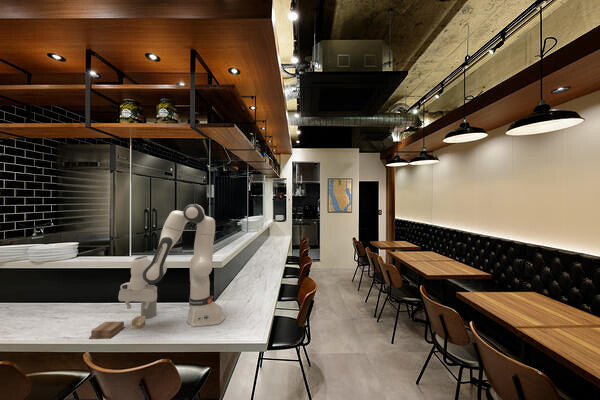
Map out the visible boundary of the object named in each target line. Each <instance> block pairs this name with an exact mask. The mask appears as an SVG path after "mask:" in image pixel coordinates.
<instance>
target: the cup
mask: <svg viewBox="0 0 600 400" xmlns="http://www.w3.org/2000/svg"><path fill="white" fill-rule="evenodd" d="M157 300H158V298H157V299H156V300H155V301H153V302H150V303H149V305H148V309H144V306H145V305H146V304H147V303H146V302H140V316H146V318H145V320H149V319H152V318H154V317H156V316H157V304H158V303H157Z"/></svg>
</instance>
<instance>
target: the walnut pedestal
mask: <svg viewBox="0 0 600 400" xmlns="http://www.w3.org/2000/svg"><path fill="white" fill-rule="evenodd" d="M124 323H125V321H123V320H122V321H105V322H103V323H101V324H100V325H98V326H96V327H95V328H93V329H92V330H91V332H90V333H91V336H89V337H88V339H89V340H98V339H99V340H100V339H101V340H103V339H105V340H109V339H113V338H114V337H115V336H117V335H118V334H119V333H121V332H122V331H124V330H125V329H126V326H125V325H124ZM120 331H121V332H120Z"/></svg>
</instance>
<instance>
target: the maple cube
mask: <svg viewBox="0 0 600 400" xmlns="http://www.w3.org/2000/svg"><path fill="white" fill-rule="evenodd" d="M145 318H146V316H141V315H139V316H135V317H134V318H132V319H131V321H130V326H131V327H130V328H131V330H141V329H142V328H143V327H144V326H145V325H146V319H145Z"/></svg>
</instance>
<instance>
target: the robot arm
mask: <svg viewBox="0 0 600 400" xmlns="http://www.w3.org/2000/svg"><path fill="white" fill-rule="evenodd" d="M188 222H190V223H193V224H196V232H195V238H194V245H193V256H192V257H191V259H190V261H189V282H190V290H189V291H190V293H189V294H190V295H189V301H188V303H189V306H188V307H189V309H188V315H187V320H186V323H187V325H191V327H193V328H195V327H204V326H215V325H220V324H221V323H223V322H224V320H225V319H226V313H225V312H223V310H222V307H221V306H220V305H219V304H217V303H216V302H215V301H213V299H214V295H210V285H211V284H210V282H211V281H210V276H209V275H210V274H211V272H212V270H213V257H214V256H213V254H214V253H213V249H214V241H215V235H216V220H215V219H214V218H213V217H211V216H207V215H206V212H205V209H204V207H202V206H201V205H199V204H197V203H190V204H188V205H186V206H185V208H184V209H183V211H181V210H176V209H175V210H173V211H171V212H170V213H169V215H168V217H167V218H166V220H165V222H164V224H163V226H162V227H163V228H162V230H161V233H160V237H159V241H158V242H159V243H158V247H157V249H156V251H155V253H154V256H153V257H150V256H148V255H143V256H138V257H135V258H134V259H133V260H132V262H131V268H130V275H131V277H130V279H129V281H128V282H125V283H122V284H121V285H120V290H119V292H118V301H119V302H124V304H125V306H126V309H127V310H131V309H132V306H133V305H132V304H130V302H139V303H141V302H146V303H147V304H146V305H145V306H144V309H148V305H149V303H150V302H153V301H155V300H156V299H157V300H158V286H156V285H155V284H157V283H159V282H160V281H161V280H162V278H163V277H164V275H165V274H166V272H167V270H168V265H167V264H166V263H165V262H166V260H167V257H168V255H169V253H170V250H171V249H172V248H173V247H174V246H175V244H177V242H178V241H179V239H180V237H181V236H182V234H183V232H184V229H185V227H186V225H187V223H188Z"/></svg>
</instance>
